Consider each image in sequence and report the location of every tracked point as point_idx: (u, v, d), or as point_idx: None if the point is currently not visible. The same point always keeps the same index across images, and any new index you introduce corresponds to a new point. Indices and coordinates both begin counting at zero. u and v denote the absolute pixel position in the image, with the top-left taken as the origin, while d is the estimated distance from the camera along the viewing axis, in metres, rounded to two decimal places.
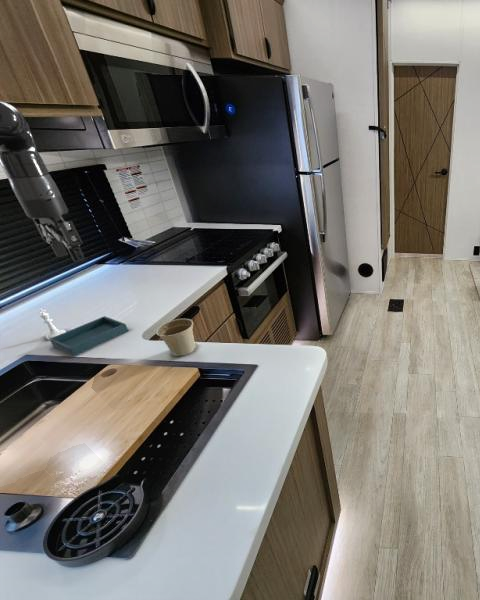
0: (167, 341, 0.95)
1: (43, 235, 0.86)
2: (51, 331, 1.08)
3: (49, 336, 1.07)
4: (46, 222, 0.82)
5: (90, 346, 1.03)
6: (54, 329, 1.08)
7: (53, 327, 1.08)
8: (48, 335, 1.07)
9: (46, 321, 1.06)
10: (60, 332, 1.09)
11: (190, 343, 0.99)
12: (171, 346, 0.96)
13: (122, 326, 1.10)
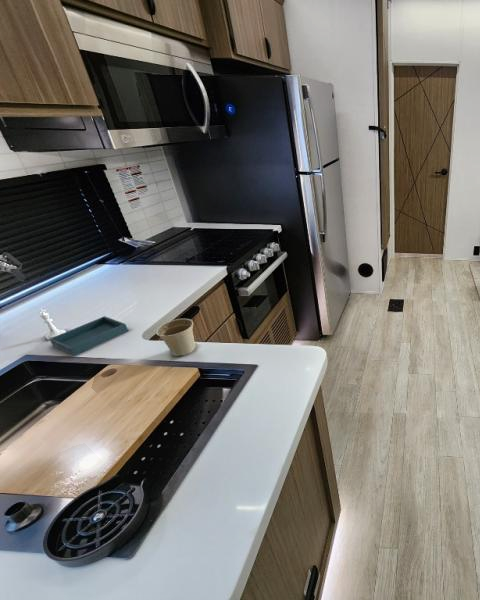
0: (167, 341, 0.95)
1: None
2: (51, 331, 1.08)
3: (49, 336, 1.07)
4: None
5: (90, 346, 1.03)
6: (54, 329, 1.08)
7: (53, 327, 1.08)
8: (48, 335, 1.07)
9: (46, 321, 1.06)
10: (60, 332, 1.09)
11: (190, 343, 0.99)
12: (171, 346, 0.96)
13: (122, 326, 1.10)
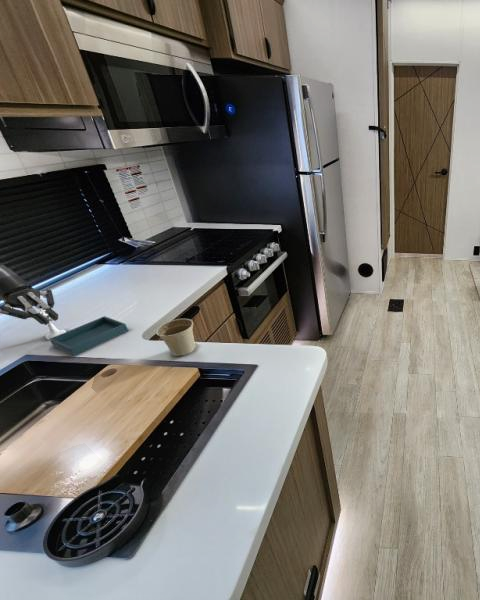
0: (167, 341, 0.95)
1: (22, 311, 1.02)
2: (51, 331, 1.08)
3: (49, 336, 1.07)
4: (21, 295, 1.04)
5: (90, 346, 1.03)
6: (54, 329, 1.08)
7: (53, 327, 1.08)
8: (48, 335, 1.07)
9: None
10: (60, 332, 1.09)
11: (190, 343, 0.99)
12: (171, 346, 0.96)
13: (122, 326, 1.10)
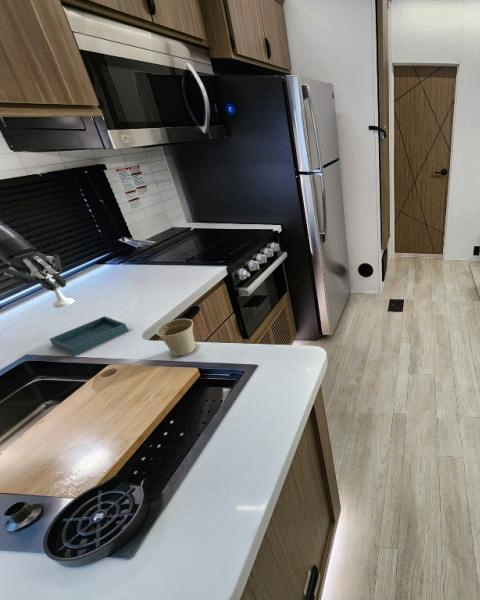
0: (167, 341, 0.95)
1: (28, 275, 0.94)
2: (58, 299, 1.00)
3: (56, 304, 1.00)
4: (27, 258, 0.96)
5: (90, 346, 1.03)
6: (61, 297, 1.01)
7: (60, 294, 1.01)
8: (55, 303, 1.00)
9: None
10: (68, 300, 1.02)
11: (190, 343, 0.99)
12: (171, 346, 0.96)
13: (122, 326, 1.10)
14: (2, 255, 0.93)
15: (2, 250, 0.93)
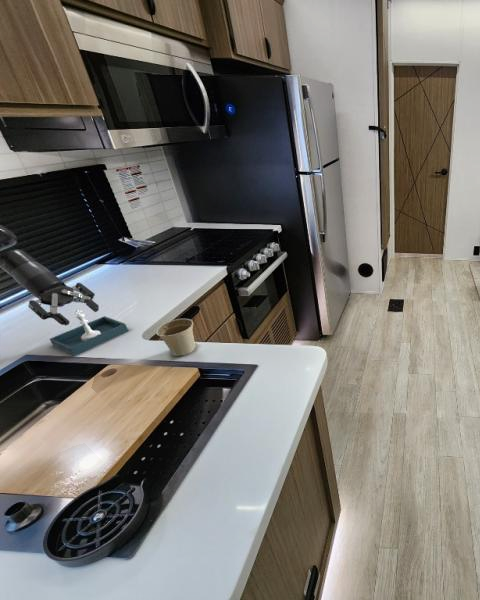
0: (167, 341, 0.95)
1: None
2: (86, 332, 1.06)
3: (84, 337, 1.05)
4: (55, 292, 1.01)
5: (90, 346, 1.03)
6: (89, 330, 1.06)
7: (88, 328, 1.06)
8: (83, 336, 1.06)
9: (82, 322, 1.04)
10: (95, 333, 1.07)
11: (190, 343, 0.99)
12: (171, 346, 0.96)
13: (122, 326, 1.10)
14: (33, 291, 0.98)
15: (33, 286, 0.97)
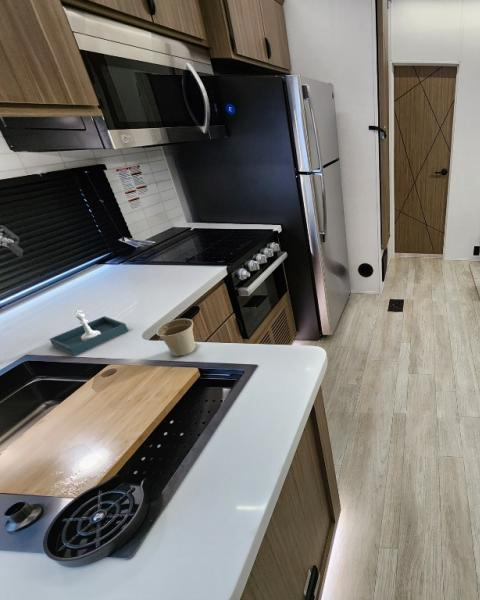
0: (167, 341, 0.95)
1: None
2: (86, 332, 1.06)
3: (84, 337, 1.05)
4: None
5: (90, 346, 1.03)
6: (89, 330, 1.06)
7: (88, 328, 1.06)
8: (83, 336, 1.06)
9: (82, 322, 1.04)
10: (95, 333, 1.07)
11: (190, 343, 0.99)
12: (171, 346, 0.96)
13: (122, 326, 1.10)
14: None
15: None
